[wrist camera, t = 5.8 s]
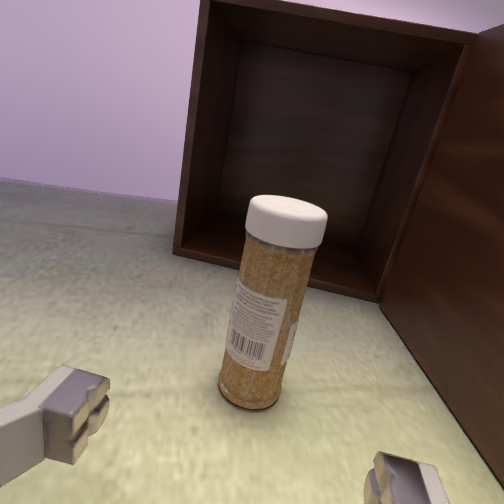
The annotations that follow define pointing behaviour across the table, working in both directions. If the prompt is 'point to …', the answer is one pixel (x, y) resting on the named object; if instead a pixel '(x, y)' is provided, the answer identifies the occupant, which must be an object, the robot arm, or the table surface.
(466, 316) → the cupboard door
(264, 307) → the sprinkles bottle
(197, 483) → the table surface
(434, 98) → the cupboard
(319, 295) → the table surface
